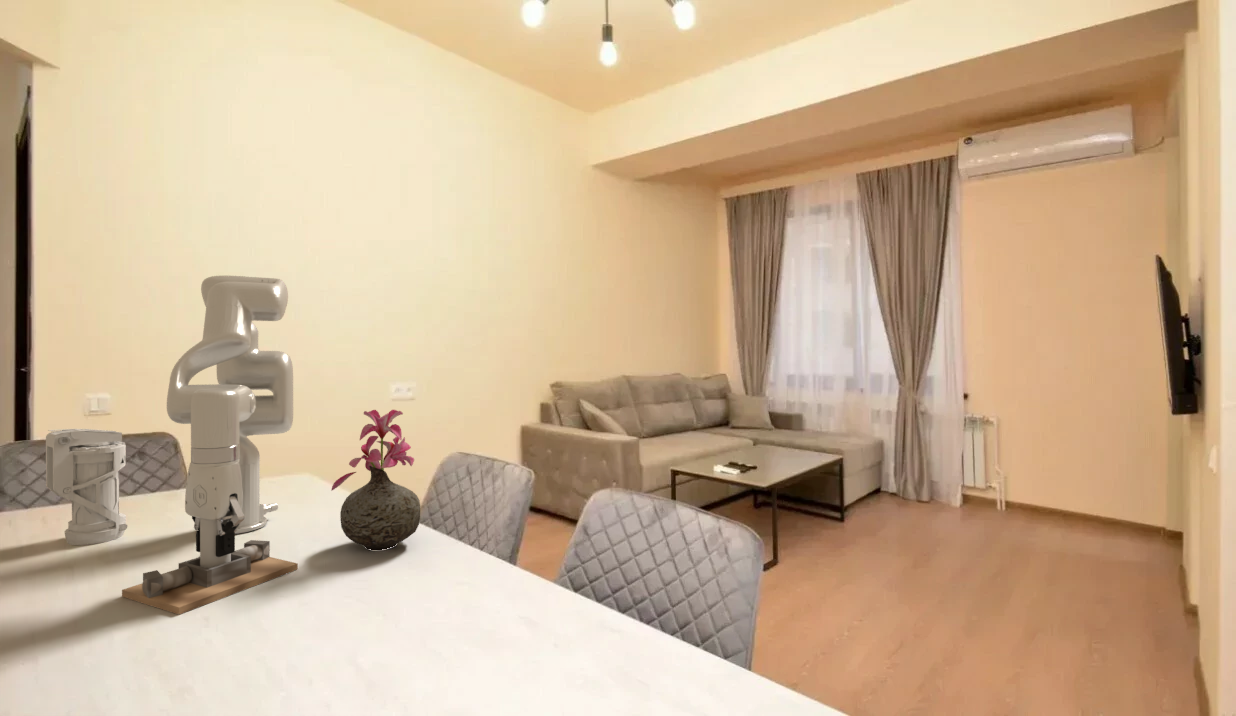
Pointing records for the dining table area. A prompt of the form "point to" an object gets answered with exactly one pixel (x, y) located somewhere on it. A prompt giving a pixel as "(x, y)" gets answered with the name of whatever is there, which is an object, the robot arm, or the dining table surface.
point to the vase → (380, 492)
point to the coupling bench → (209, 579)
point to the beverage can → (210, 544)
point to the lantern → (87, 481)
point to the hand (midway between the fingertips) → (215, 551)
